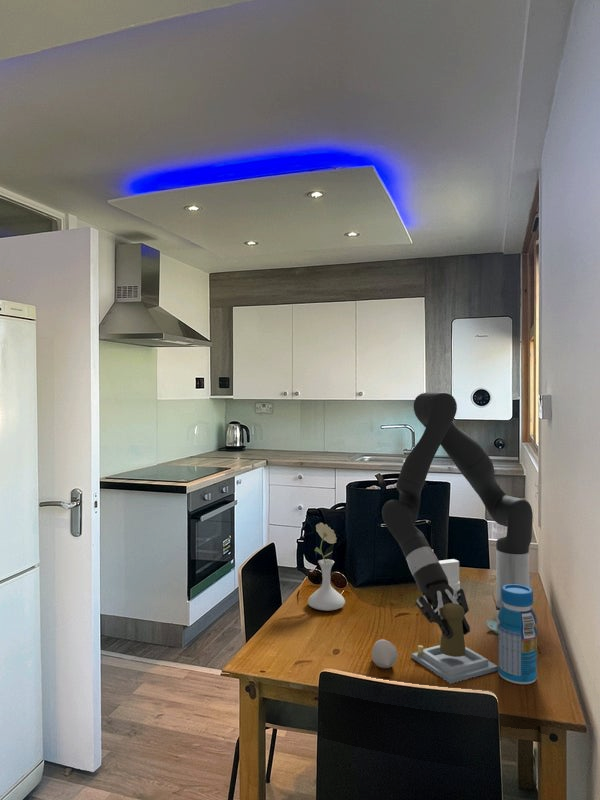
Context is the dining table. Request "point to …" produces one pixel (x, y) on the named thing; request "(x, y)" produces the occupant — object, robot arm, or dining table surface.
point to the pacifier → (494, 622)
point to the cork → (456, 642)
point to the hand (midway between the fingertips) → (458, 634)
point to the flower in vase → (326, 577)
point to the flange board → (454, 664)
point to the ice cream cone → (384, 654)
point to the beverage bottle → (517, 635)
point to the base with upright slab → (451, 572)
